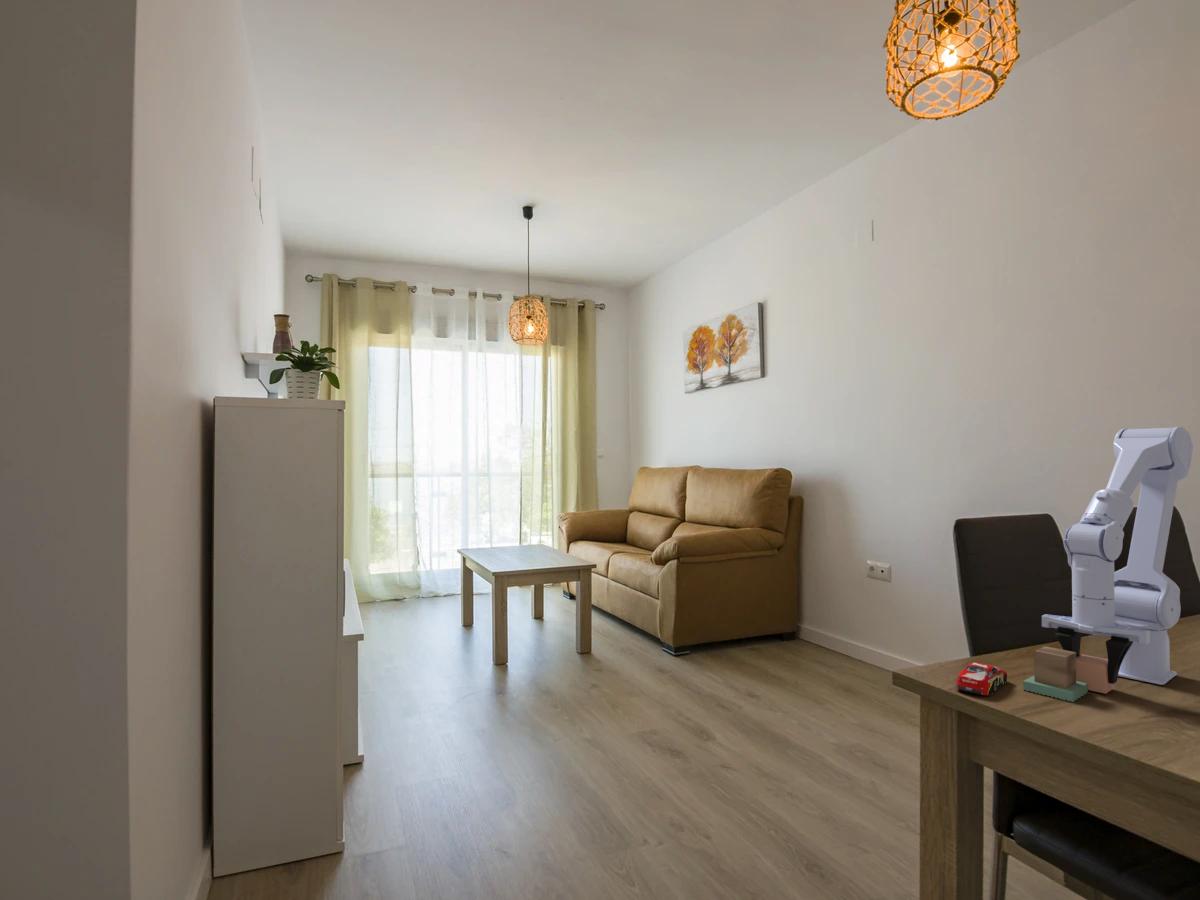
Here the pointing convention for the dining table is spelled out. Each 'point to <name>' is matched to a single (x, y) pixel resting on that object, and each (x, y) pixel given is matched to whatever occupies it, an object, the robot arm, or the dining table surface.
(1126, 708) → the dining table surface
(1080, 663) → the terracotta brick
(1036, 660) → the walnut brick
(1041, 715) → the dining table surface
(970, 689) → the race car
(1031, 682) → the base plate
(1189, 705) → the dining table surface
